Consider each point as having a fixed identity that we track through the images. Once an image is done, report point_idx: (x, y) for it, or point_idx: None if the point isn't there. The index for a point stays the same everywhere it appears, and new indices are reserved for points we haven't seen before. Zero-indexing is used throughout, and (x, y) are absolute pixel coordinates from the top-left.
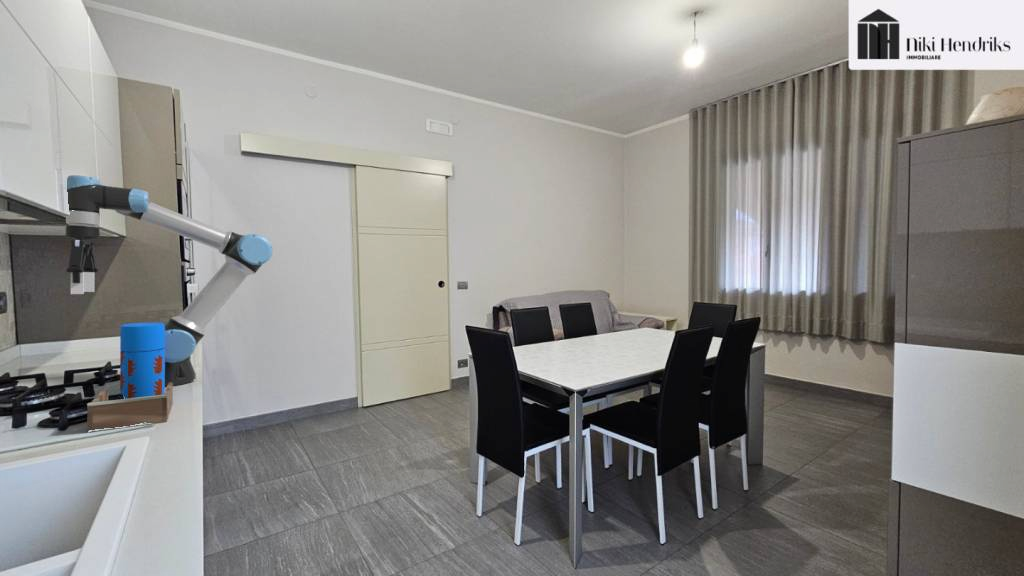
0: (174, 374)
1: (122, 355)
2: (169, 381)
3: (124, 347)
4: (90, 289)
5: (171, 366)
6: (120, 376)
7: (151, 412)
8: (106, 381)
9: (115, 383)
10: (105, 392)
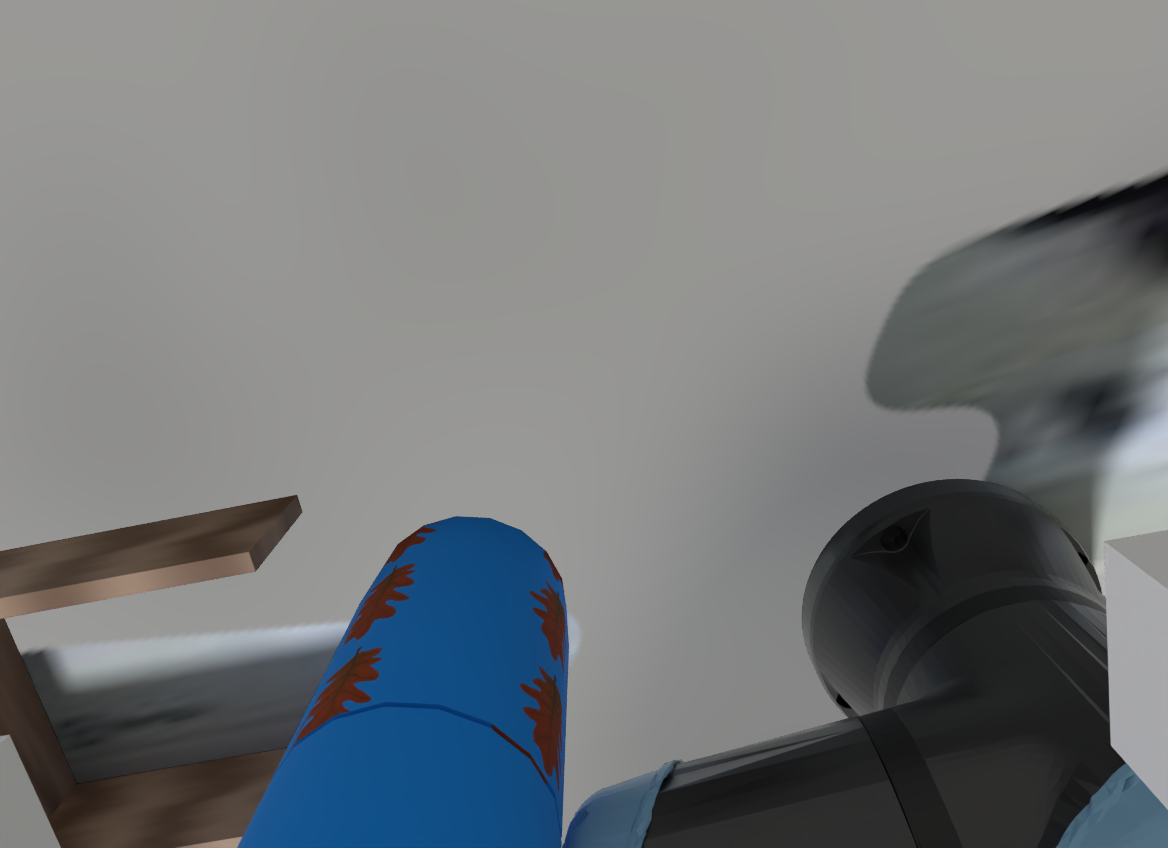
0: (842, 695)
1: (310, 719)
2: (812, 651)
3: (274, 782)
4: (1147, 731)
5: (869, 712)
6: (381, 607)
7: None
8: (1159, 199)
9: (1054, 287)
10: (180, 582)
